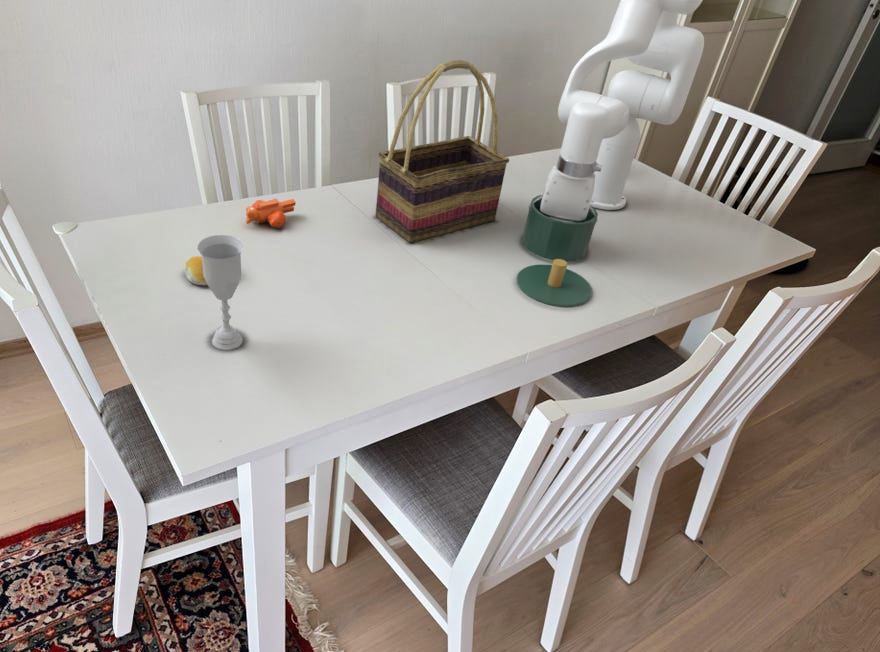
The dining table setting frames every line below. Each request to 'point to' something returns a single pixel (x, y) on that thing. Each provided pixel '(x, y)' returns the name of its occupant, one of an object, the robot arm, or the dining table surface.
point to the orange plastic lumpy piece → (270, 212)
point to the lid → (554, 284)
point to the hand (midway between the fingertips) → (554, 242)
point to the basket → (440, 175)
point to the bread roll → (195, 271)
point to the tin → (556, 235)
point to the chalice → (223, 281)
